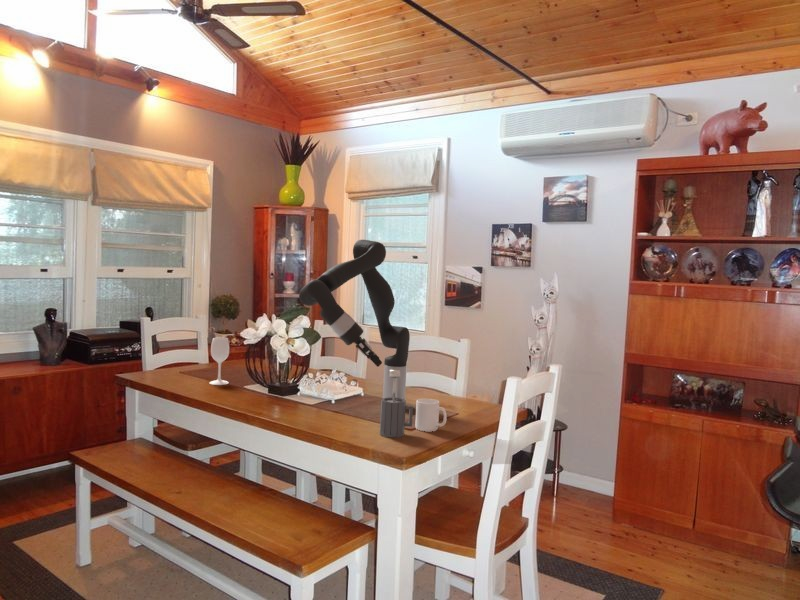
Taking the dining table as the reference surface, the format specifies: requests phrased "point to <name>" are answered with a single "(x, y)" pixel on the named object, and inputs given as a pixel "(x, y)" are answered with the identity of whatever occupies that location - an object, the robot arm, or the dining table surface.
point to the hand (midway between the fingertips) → (378, 362)
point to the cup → (428, 415)
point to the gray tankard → (394, 417)
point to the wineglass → (219, 356)
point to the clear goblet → (394, 382)
